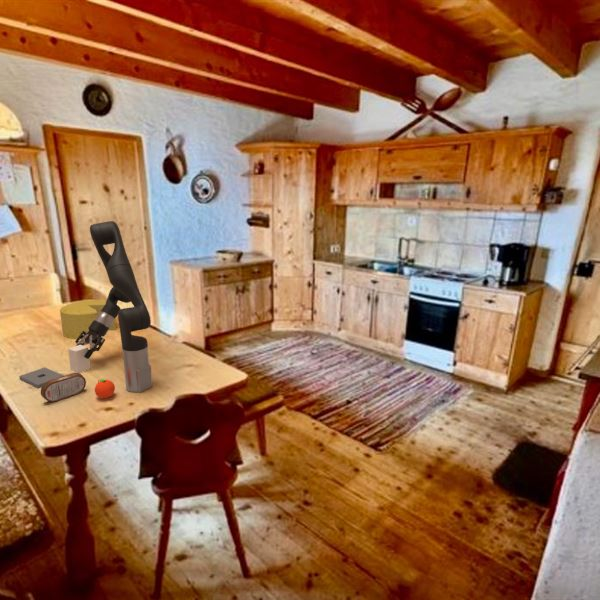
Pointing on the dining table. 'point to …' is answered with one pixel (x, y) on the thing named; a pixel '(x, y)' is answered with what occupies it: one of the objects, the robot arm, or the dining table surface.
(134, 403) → the dining table surface
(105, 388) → the clementine
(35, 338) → the dining table surface
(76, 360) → the block
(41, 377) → the slate board
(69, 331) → the cheese
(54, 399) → the tin
